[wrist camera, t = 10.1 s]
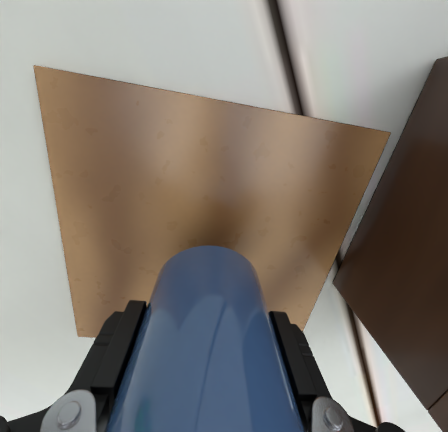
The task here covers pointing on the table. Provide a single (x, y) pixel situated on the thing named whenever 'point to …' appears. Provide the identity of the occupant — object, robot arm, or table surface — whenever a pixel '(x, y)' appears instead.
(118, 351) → the robot arm
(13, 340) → the table surface
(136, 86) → the placemat
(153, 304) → the cup
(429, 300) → the shelf
